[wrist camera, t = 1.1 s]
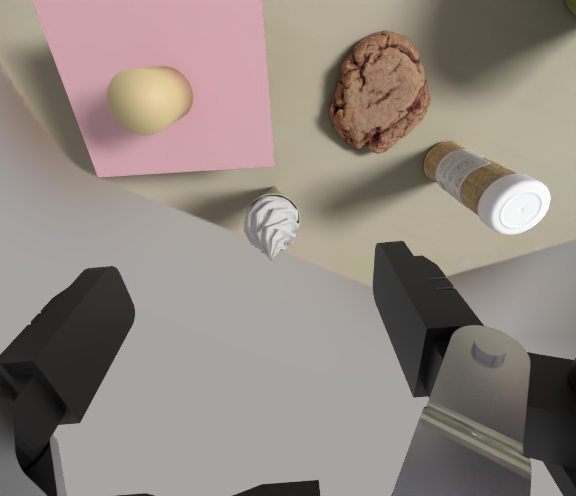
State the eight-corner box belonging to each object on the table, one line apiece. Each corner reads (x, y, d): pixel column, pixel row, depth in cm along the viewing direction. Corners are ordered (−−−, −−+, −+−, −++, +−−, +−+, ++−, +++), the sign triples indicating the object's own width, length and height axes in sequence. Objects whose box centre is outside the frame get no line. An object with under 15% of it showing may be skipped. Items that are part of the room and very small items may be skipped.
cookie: (419, 16, 29) (433, 12, 26) (429, 131, 34) (441, 137, 32) (314, 55, 30) (317, 55, 28) (339, 161, 36) (344, 169, 33)
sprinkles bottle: (468, 165, 36) (558, 217, 24) (430, 188, 37) (499, 246, 26) (454, 131, 34) (546, 169, 22) (415, 155, 35) (482, 203, 24)
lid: (52, 4, 23) (-49, -20, 16) (261, -9, 23) (255, -39, 16) (109, 169, 29) (56, 205, 22) (274, 159, 29) (274, 192, 22)
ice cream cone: (244, 177, 36) (226, 244, 23) (285, 159, 35) (291, 219, 22) (262, 214, 38) (256, 294, 25) (302, 199, 37) (315, 273, 25)
